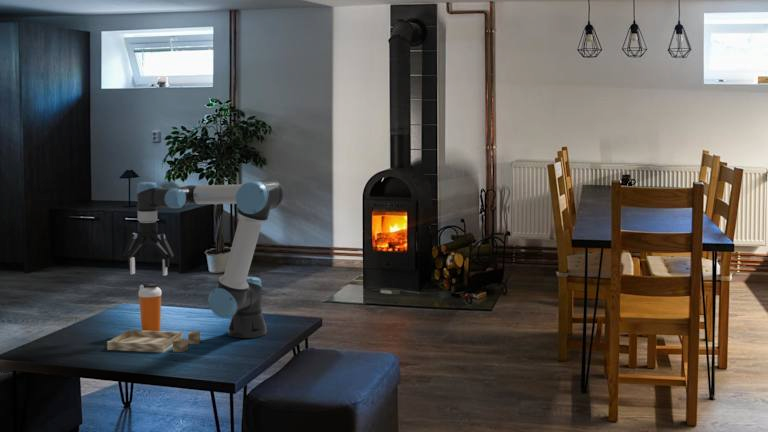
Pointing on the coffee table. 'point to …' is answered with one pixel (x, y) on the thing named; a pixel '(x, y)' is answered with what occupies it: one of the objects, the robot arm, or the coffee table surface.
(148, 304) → the shaker bottle
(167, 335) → the tray
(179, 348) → the oak block
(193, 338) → the oak block
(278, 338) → the coffee table surface
